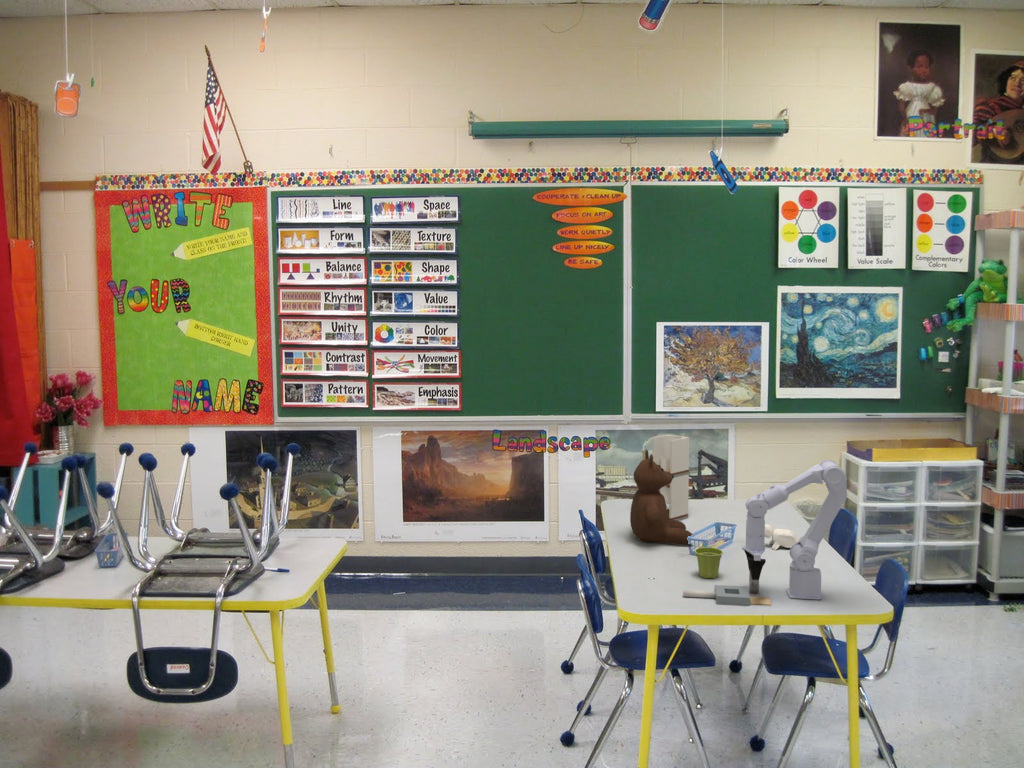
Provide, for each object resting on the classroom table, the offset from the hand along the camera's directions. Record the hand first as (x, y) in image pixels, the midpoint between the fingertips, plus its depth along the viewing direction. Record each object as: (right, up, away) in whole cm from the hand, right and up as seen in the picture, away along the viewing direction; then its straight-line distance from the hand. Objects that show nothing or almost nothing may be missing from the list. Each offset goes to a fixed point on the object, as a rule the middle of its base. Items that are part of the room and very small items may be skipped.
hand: (754, 575), depth 269 cm
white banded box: (-10, +4, +89) cm, 90 cm away
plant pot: (-11, -4, +17) cm, 20 cm away
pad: (0, -6, -7) cm, 10 cm away
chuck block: (-13, -6, -4) cm, 15 cm away
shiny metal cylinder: (0, -6, +1) cm, 6 cm away
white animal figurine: (+23, -1, +48) cm, 53 cm away
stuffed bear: (-20, 0, +58) cm, 61 cm away
